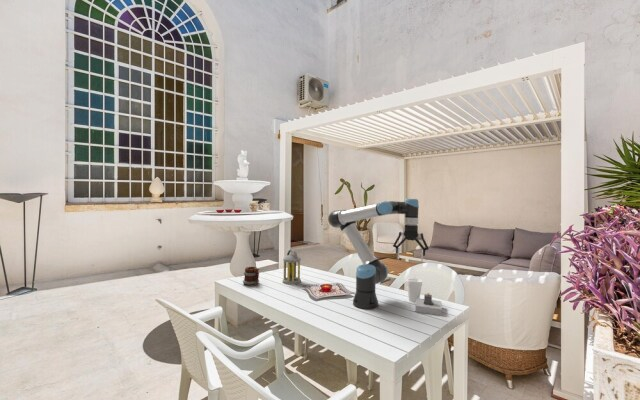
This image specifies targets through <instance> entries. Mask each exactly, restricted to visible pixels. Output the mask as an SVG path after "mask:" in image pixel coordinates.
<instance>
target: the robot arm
mask: <svg viewBox="0 0 640 400" xmlns="http://www.w3.org/2000/svg"><path fill="white" fill-rule="evenodd" d="M395 214H396V215H404V224H405V225H404V231H403V232H401V231H399V232H398V236H397V238H396V240H395V242H393V244H392V247H393V248H395V254H397V260H400V250H401V249H400V246H401V245H402V244H404V242H406V240H407V241H415V242H416V243H417V244H418V246H419V247H420V248H421V249H422V250H421V256H420V257H421V262H424V257H425V256H426V251H428V250H429V248H430V247H429V246H428V243H427V242H426V239H425V237H424V233H423V232H421V233H419V231H418V230H419V226H418V224H419V199H417V198H405V200H404V201H397V200H395V201H393V200H392V201H391V200H390V201H386V200H385V201H381V202H378V203H374V204H373V203H372V204H370V205H365V206H361V207H356V208H355V207H354V208H352V209H341V210H332V211H331V212H330V213H329V215H328V218H327V219H328V220H327V221H328V223H329V225H330V226H331V227H332V228H335V229H340V231H341V232H342V233H344V234H345V235H346V237H347V238H348V240H349V242H350V243H351V245H352V247H353V249H354V251H355V252H356V254H357V255H358V258H359V259H360V261H361V262H362V264H360V265H358V266H357V267H356V272H355V280H356V281H355V283H356V284H355V293H354V297H353V299H352V305H353V306H354V308H355V307H356V308H358V309H362V310H363V309H364V310H372V309H377V308H378V307H379V300H378V296H377V294H376V293H377V292H376V285H377V284H379V283H380V284H381V283H382V282H384V281H385V280H386V279H387V278H388V275H389V270H388V267H387V265H385V263H382V262H381V261H380V259H379V258H377V257H375V255H374V254H373V253H372V250H371V249H370V247H369V245H368V244H367V242H366V241H365V239H364V237H363V236H362V233H360V231H359V229H358V228H357V224H358V223H357V221H361V220H368V219H373V218H376V217H377V218H378V217H382V216H386V215H395ZM402 236H404V238H403V239H402V240H401V241H400V242H399V240H400V239H401V237H402ZM418 237H419V238H421V241H422V243H423V244H422V243H421V241H420V240H419V239H418Z"/></svg>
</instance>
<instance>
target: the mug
mask: <svg viewBox="0 0 640 400" xmlns="http://www.w3.org/2000/svg"><path fill="white" fill-rule="evenodd" d="M259 270H260V269H259V268H257V266H246V267H245V268H244V271H243V277H244V278H243V280H242V283H243V285H244V286H248V287H251V286H257V285H258V284H259V282H260V280H259V277H260V272H259Z"/></svg>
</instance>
